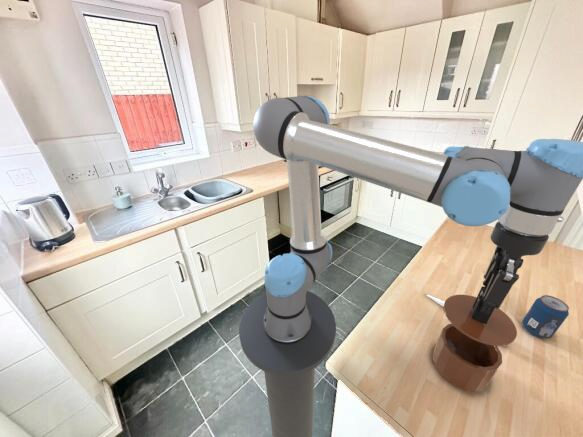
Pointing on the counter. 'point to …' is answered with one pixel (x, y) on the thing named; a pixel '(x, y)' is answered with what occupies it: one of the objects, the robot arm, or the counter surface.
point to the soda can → (545, 316)
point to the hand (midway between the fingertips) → (479, 314)
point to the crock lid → (492, 333)
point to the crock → (465, 360)
